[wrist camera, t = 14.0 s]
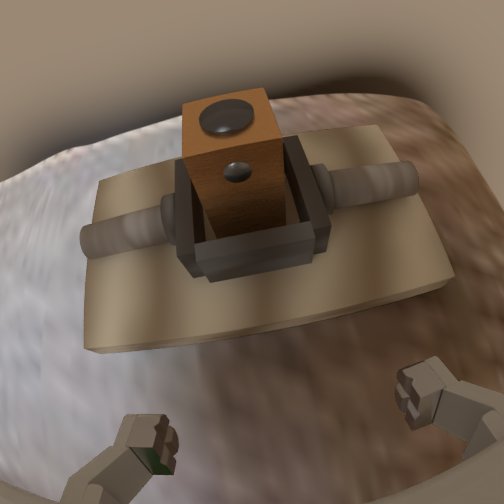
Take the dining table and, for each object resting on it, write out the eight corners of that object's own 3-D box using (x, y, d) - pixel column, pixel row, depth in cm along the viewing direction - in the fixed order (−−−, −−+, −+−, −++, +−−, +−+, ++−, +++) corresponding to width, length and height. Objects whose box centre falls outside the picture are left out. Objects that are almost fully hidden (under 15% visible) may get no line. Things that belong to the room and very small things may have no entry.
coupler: (222, 251, 18) (180, 156, 11) (215, 197, 20) (181, 99, 13) (287, 238, 18) (282, 135, 11) (273, 186, 20) (262, 83, 13)
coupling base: (100, 353, 18) (54, 338, 14) (109, 194, 25) (82, 158, 20) (442, 287, 17) (477, 255, 13) (373, 141, 24) (383, 96, 19)
